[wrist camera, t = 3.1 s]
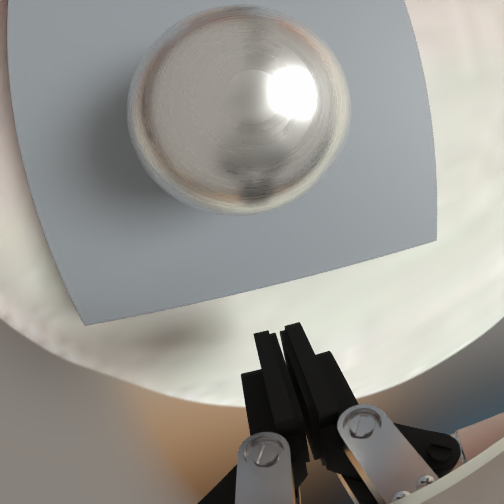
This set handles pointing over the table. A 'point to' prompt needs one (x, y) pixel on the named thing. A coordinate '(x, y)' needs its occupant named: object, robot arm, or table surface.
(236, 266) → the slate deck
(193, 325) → the table surface
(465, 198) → the table surface
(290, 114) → the steel ball
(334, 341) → the table surface
